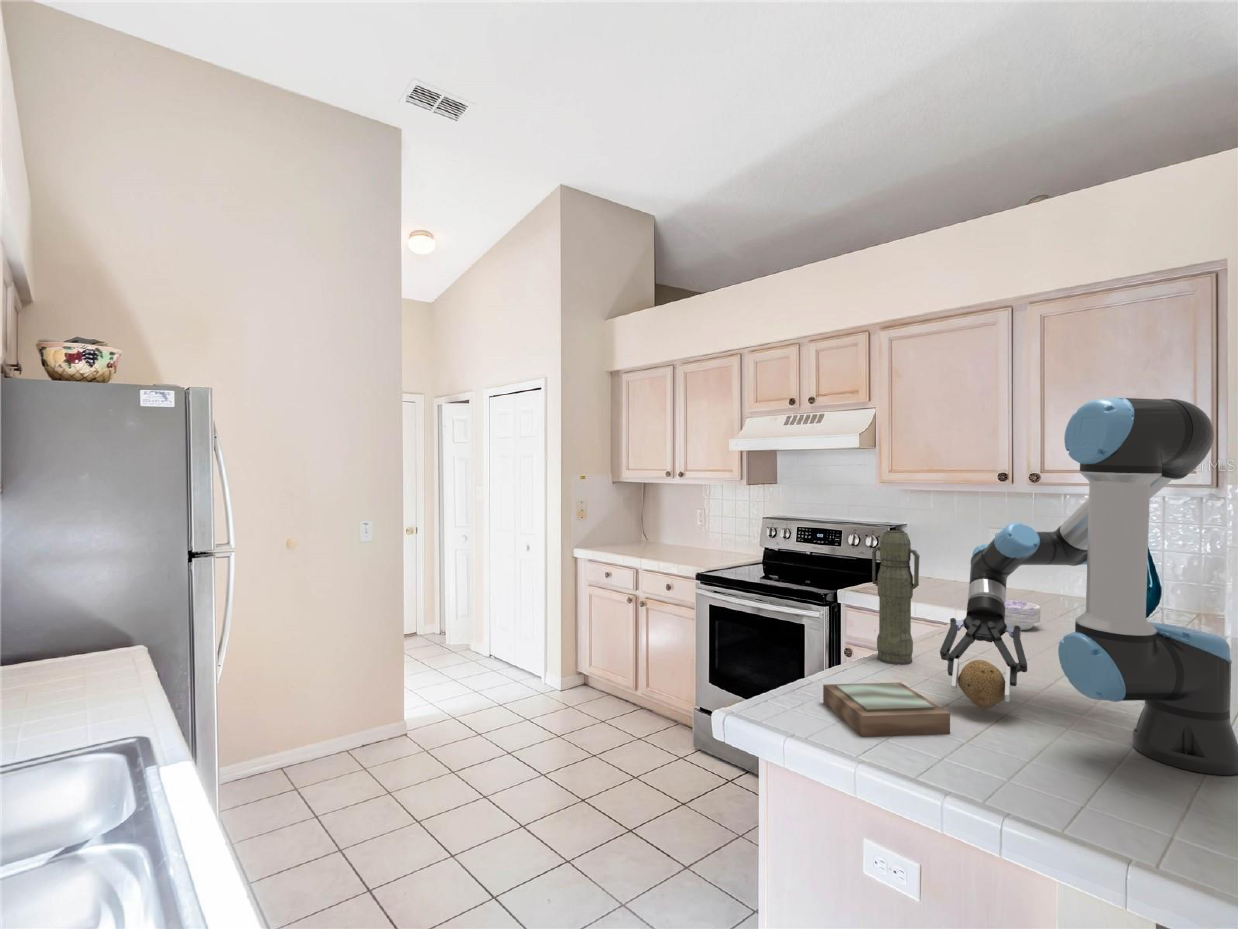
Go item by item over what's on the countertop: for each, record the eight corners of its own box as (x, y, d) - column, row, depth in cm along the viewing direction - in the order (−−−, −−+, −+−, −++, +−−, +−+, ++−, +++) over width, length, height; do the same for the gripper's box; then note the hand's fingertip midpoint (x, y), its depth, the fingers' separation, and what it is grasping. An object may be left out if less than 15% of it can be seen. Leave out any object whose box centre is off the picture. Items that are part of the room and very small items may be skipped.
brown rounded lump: (947, 703, 138) (947, 656, 138) (976, 697, 141) (975, 652, 142) (986, 718, 129) (986, 668, 130) (1015, 711, 133) (1015, 663, 133)
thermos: (917, 667, 167) (918, 533, 167) (869, 660, 172) (870, 531, 173) (920, 659, 174) (920, 531, 175) (874, 652, 180) (874, 528, 180)
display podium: (950, 733, 125) (950, 710, 125) (862, 736, 123) (862, 713, 123) (900, 700, 143) (900, 680, 143) (823, 702, 141) (823, 682, 141)
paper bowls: (1029, 623, 217) (1030, 599, 217) (1048, 634, 202) (1048, 609, 202) (980, 620, 220) (980, 597, 221) (994, 631, 206) (994, 606, 206)
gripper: (1043, 620, 142) (1042, 713, 129) (935, 608, 154) (925, 692, 141) (1042, 600, 138) (1042, 694, 125) (932, 589, 150) (920, 674, 137)
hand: (980, 693), depth 133 cm, fingers closed on brown rounded lump, 9 cm apart
